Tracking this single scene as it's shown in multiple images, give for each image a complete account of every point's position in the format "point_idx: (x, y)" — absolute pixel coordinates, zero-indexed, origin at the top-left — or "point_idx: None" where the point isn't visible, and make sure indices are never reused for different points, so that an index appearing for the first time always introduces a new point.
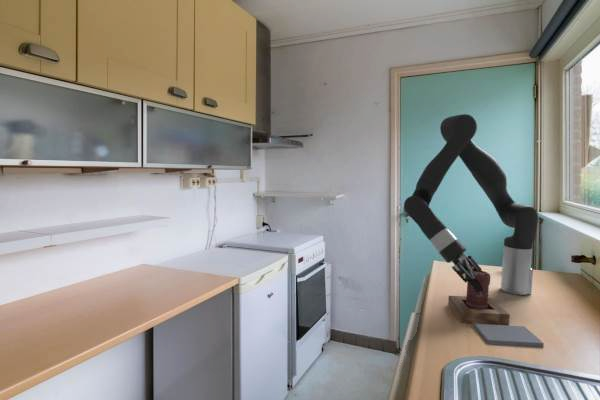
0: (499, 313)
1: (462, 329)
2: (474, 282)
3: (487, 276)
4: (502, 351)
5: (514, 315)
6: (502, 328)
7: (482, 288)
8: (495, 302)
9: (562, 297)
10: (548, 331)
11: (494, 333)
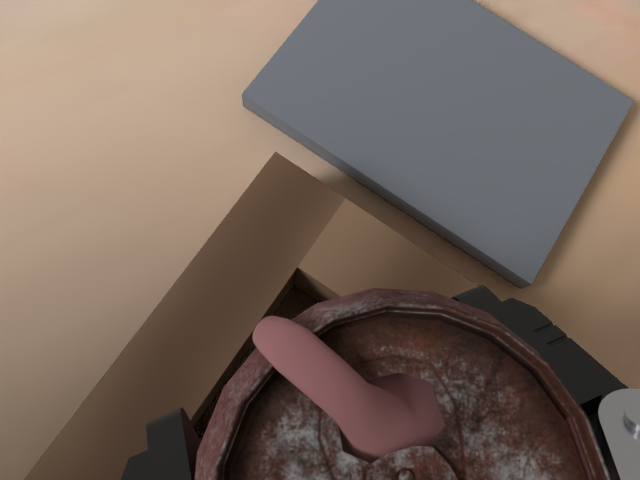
0: (336, 201)
1: (624, 300)
2: (603, 380)
3: (384, 298)
4: (615, 30)
5: (42, 271)
6: (413, 145)
7: (484, 296)
8: (111, 379)
9: None
10: (124, 22)
11: (526, 130)
